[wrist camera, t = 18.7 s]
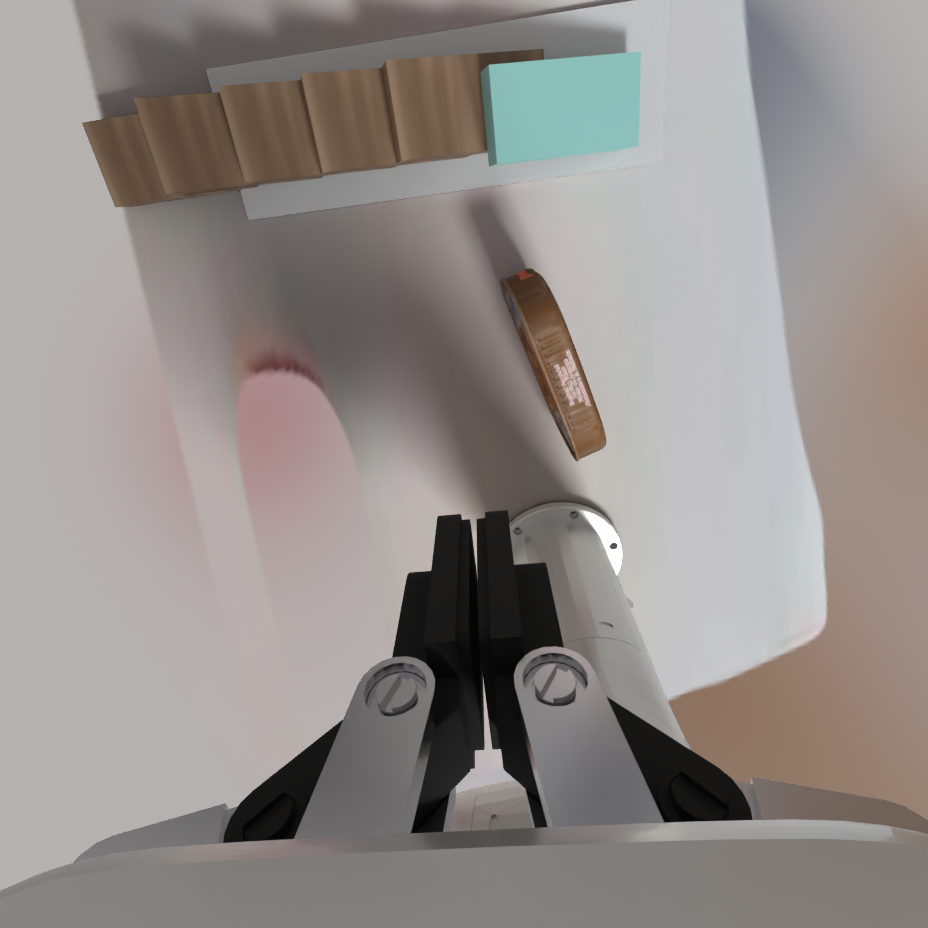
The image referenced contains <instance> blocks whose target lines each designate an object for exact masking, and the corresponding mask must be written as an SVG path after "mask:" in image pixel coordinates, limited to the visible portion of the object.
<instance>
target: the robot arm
mask: <svg viewBox="0 0 928 928" xmlns="http://www.w3.org/2000/svg"><path fill="white" fill-rule="evenodd" d="M572 511H573V512H572ZM517 527H518V528H517ZM622 557H623V552H622V544H621V541H620V538H619V536H618V534H617V532H616V530H615V528H614V526H613V525H612V524H611V522H610V521H609V520H608V519H607V518H606V517H605V516H603V515H602V514H601V513H600V512H598V511H596V510H594V509H592V508H590V507H588V506H584V505H581V504H577V503H569V502H555V503H548V504H544V505H539V506H537V507H534V508H532V509H529V510H527V511H525V512H524V513H522V514H520V515H519V516H517V517H516V518H515V519H514V520H513V521H511V522H510V523H509V518H508V510H505V511H493V512H485V518H481V519H477V572H478V581H477V573H476V564H475V556H474V548H473V539H472V531H471V523H470V519H469V520H462V518H461V514H457V515H445V516H438V518H437V526H436V535H435V544H434V553H433V561H432V570H431V571H426V572H413V573H409V574H408V576H407V580H406V585H405V591H404V596H403V602H402V607H401V613H400V618H399V624H398V629H397V635H396V640H395V646H394V651H393V657H392V658H390V659H387V660H384V661H382V662H380V663H378V664H377V665H375V666H373V667H372V668H371V669H370V670H369V671H368V672H367V673H366V674H365V675H364V676H363V677H362V679H361V681H360V682H359V684H358V686H357V688H356V691H355V693H354V695H353V698H352V700H351V702H350V705H349V707H348V710H347V712H346V715H345V717H344V719H343V720H342V721H341V722H339V723H338V724H337V725H336V726H334V727H333V728H332V729H330V730H329V731H328V732H327V733H325V734H324V735H323V736H322V737H320V738H319V739H318V740H317V741H315V742H314V743H313V744H312V745H310V746H309V747H308V748H306V749H305V750H304V751H303V752H301V753H300V754H299V755H298V756H296V757H295V758H294V759H293V760H291V761H290V762H289V763H288V764H286V765H285V766H284V767H282V768H281V769H280V770H279V771H277V772H276V773H275V774H274V775H272V776H271V777H270V778H269V779H267V780H266V781H265V782H264V783H262V784H261V785H260V786H259V787H257V788H256V789H255V790H253V791H252V792H251V793H250V794H249V795H248V796H247V797H246V798H245V799H244V800H243V801H242V802H241V803H240V805H239V806H238V807H235V808H231V809H228V807H227V805H226V804H222V805H218V806H215V807H211V808H208V809H204V810H201V811H197V812H194V813H190V814H187V815H183V816H180V817H177V818H173V819H169V820H166V821H162V822H159V823H156V824H152V825H149V826H145V827H142V828H138V829H135V830H131V831H128V832H124V833H121V834H117V835H114V836H111V837H109V838H107V839H105V840H102V841H100V842H98V843H96V844H95V845H93V846H92V847H91V848H89V849H88V850H87V851H85V852H84V853H83V854H81V855H80V856H79V857H78V858H77V859H76V860H75V861H74V862H73V863H72V864H68V865H65V866H62V867H58V868H55V869H52V870H49V871H47V872H44V873H41V874H38V875H35V876H33V877H31V878H28V879H26V880H24V881H22V882H19V883H17V884H15V885H12V886H10V887H8V888H6V889H3V890H1V891H0V928H928V820H927V819H925V818H924V817H922V816H920V815H919V814H917V813H915V812H913V811H912V810H910V809H908V808H907V807H905V806H902V805H899V804H895V803H892V802H889V801H886V800H882V799H876V798H870V797H864V796H858V795H852V794H847V793H841V792H835V791H829V790H823V789H817V788H811V787H806V786H800V785H794V784H788V783H783V782H777V781H770V780H765V779H759V778H754V777H752V778H751V782H750V784H749V783H743V782H737V781H733V780H732V779H731V778H730V777H729V776H728V775H727V774H725V773H724V772H723V771H722V770H720V769H719V768H718V767H716V766H715V765H713V764H712V763H710V762H709V761H707V760H705V759H704V758H702V757H701V756H699V755H698V754H696V753H695V752H693V751H691V749H690V747H689V745H688V743H687V741H686V740H685V738H684V736H683V733H682V731H681V729H680V727H679V725H678V723H677V721H676V719H675V717H674V715H673V712H672V710H671V708H670V705H669V703H668V701H667V698H666V696H665V694H664V691H663V689H662V686H661V684H660V681H659V679H658V676H657V674H656V672H655V669H654V667H653V664H652V661H651V659H650V656H649V654H648V651H647V649H646V646H645V644H644V641H643V639H642V636H641V634H640V631H639V629H638V626H637V624H636V621H635V619H634V616H633V614H632V612H631V609H632V607H633V602H632V601H631V600H630V599H629V598H627V597H626V596H625V594H624V592H623V589H622V587H621V584H620V582H619V579H618V577H617V574H618V572H619V569H620V567H621V564H622ZM483 679H484V686H485V694H486V702H487V710H488V718H489V725H490V733H491V741H492V748H493V749H501V751H502V759H503V768H504V770H505V771H506V772H507V773H508V774H510V775H511V776H512V777H513V778H514V779H515V780H510V781H506V782H501V783H496V784H491V785H487V786H483V787H479V788H474V789H469V790H466V791H463V792H459V793H456V788H455V786H456V785H457V784H458V783H459V782H460V781H461V780H462V779H463V778H464V777H465V776H466V775H467V774H468V773H469V772H470V769H473V768H475V750H484V705H483Z"/></svg>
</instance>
